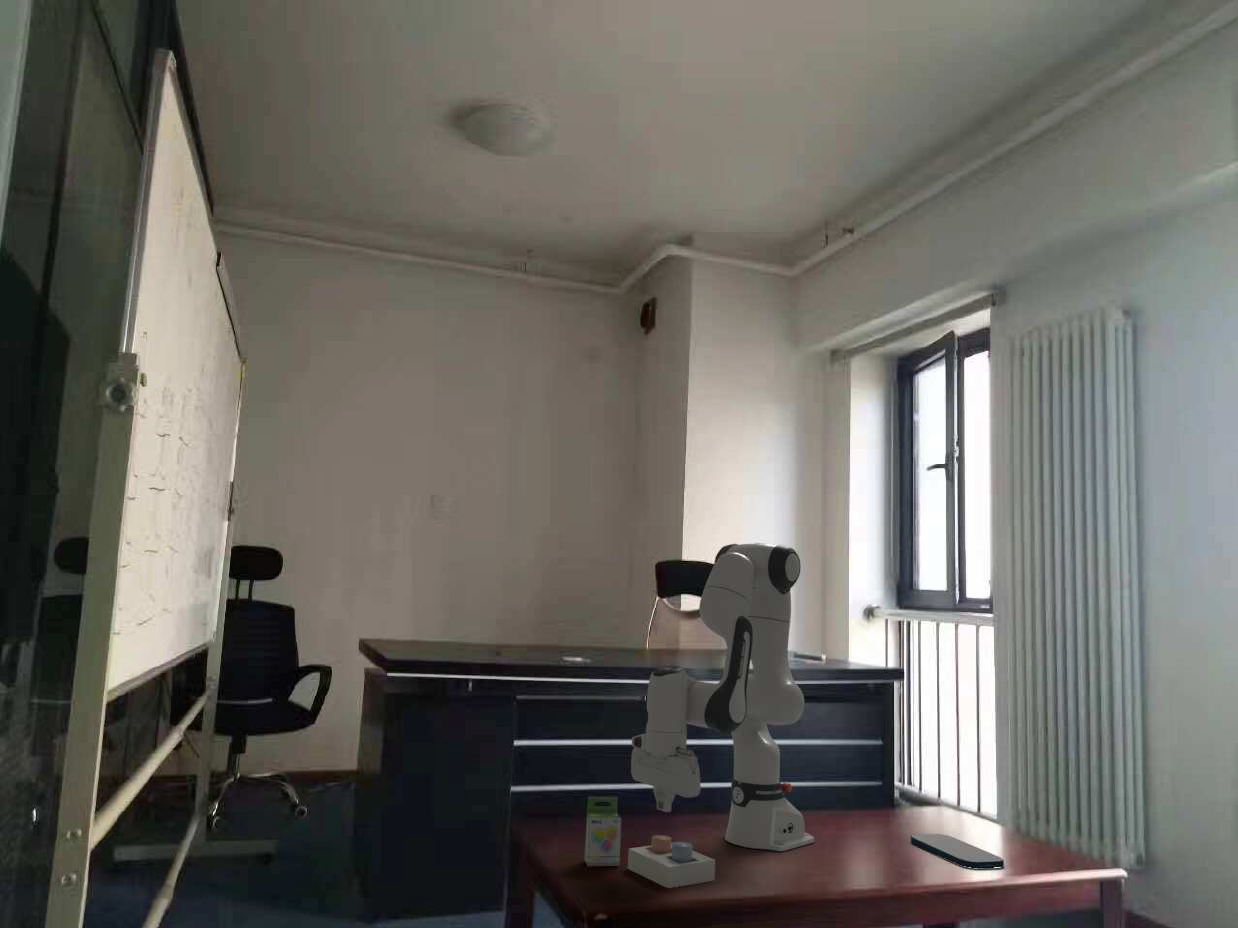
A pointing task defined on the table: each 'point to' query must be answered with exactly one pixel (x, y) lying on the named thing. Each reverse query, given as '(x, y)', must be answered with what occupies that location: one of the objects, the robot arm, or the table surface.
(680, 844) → the grey piece
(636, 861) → the white flat block
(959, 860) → the external hard drive
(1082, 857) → the table surface
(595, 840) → the ink box
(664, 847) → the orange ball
